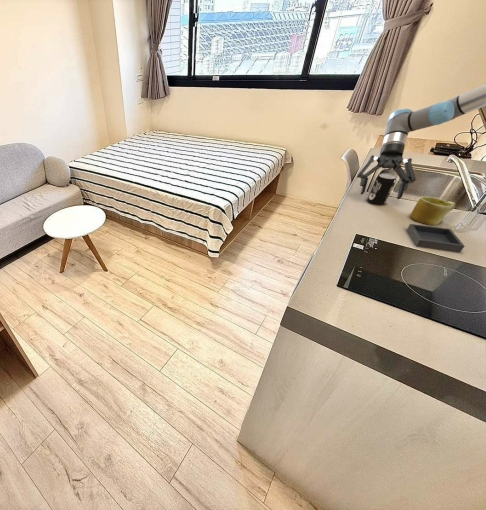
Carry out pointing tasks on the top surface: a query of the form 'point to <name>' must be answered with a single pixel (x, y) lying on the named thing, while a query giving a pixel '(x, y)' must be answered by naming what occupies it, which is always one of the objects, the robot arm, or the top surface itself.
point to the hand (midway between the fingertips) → (380, 195)
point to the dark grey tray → (435, 238)
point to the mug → (431, 210)
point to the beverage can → (381, 189)
